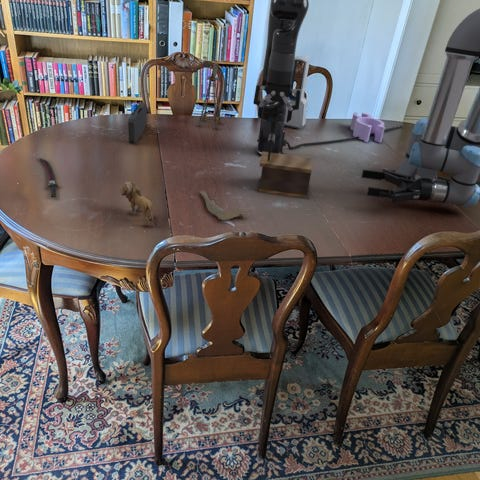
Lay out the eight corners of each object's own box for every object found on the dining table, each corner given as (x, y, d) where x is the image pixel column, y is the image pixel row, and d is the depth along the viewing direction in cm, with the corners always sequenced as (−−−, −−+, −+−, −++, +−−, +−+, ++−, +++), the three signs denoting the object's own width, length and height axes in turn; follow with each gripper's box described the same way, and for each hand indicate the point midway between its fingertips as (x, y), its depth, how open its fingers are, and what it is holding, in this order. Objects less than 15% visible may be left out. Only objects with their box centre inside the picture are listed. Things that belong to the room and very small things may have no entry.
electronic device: (305, 125, 218) (316, 58, 202) (301, 130, 212) (313, 61, 196) (279, 120, 221) (289, 53, 205) (275, 124, 215) (284, 56, 199)
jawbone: (230, 228, 136) (231, 222, 135) (181, 203, 146) (181, 197, 145) (250, 215, 142) (250, 210, 140) (201, 192, 152) (201, 187, 151)
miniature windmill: (216, 129, 203) (221, 57, 187) (197, 126, 204) (200, 54, 188) (221, 123, 211) (226, 53, 194) (203, 120, 212) (206, 50, 195)
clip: (343, 126, 223) (346, 112, 219) (367, 127, 225) (371, 113, 221) (360, 142, 206) (364, 127, 202) (386, 142, 209) (390, 127, 205)
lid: (259, 166, 152) (262, 140, 147) (261, 154, 161) (264, 130, 156) (311, 173, 151) (315, 147, 146) (310, 161, 160) (315, 136, 155)
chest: (259, 191, 157) (262, 167, 152) (261, 179, 165) (264, 155, 161) (306, 198, 156) (311, 173, 151) (306, 185, 165) (310, 161, 160)
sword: (61, 197, 141) (61, 193, 140) (50, 198, 139) (50, 194, 139) (49, 160, 164) (48, 156, 163) (39, 160, 163) (39, 157, 162)
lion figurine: (118, 210, 138) (116, 182, 133) (132, 204, 141) (131, 177, 137) (151, 229, 130) (150, 201, 126) (165, 223, 134) (165, 195, 129)
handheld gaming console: (140, 124, 200) (139, 101, 194) (146, 125, 200) (146, 101, 194) (127, 143, 180) (126, 118, 175) (135, 144, 180) (134, 119, 175)
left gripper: (256, 67, 137) (250, 120, 146) (304, 73, 136) (296, 126, 145) (258, 61, 143) (253, 113, 152) (304, 67, 143) (296, 119, 151)
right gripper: (435, 218, 146) (367, 209, 146) (417, 183, 167) (357, 176, 167) (443, 197, 142) (373, 188, 142) (423, 164, 163) (362, 157, 163)
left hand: (274, 119), depth 149 cm, fingers open, 8 cm apart
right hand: (364, 182), depth 155 cm, fingers open, 13 cm apart
